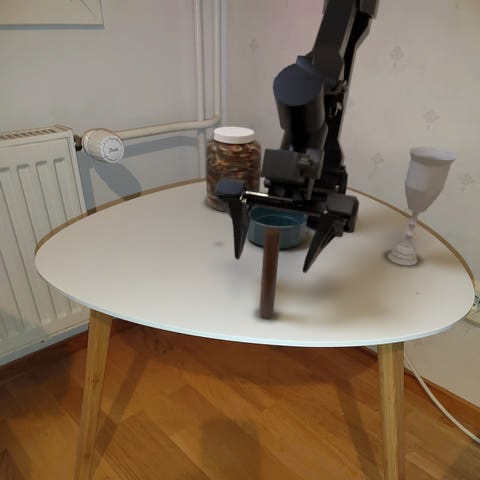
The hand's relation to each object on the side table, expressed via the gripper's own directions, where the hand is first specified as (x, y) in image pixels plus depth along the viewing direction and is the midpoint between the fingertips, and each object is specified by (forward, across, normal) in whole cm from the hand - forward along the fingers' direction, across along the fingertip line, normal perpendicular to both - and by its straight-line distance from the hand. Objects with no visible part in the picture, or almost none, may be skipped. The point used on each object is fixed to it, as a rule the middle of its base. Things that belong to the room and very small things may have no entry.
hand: (269, 265), depth 55 cm
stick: (+6, 0, +6) cm, 8 cm away
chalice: (-12, +18, +24) cm, 32 cm away
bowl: (-12, -6, +23) cm, 27 cm away
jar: (-21, -20, +33) cm, 44 cm away
